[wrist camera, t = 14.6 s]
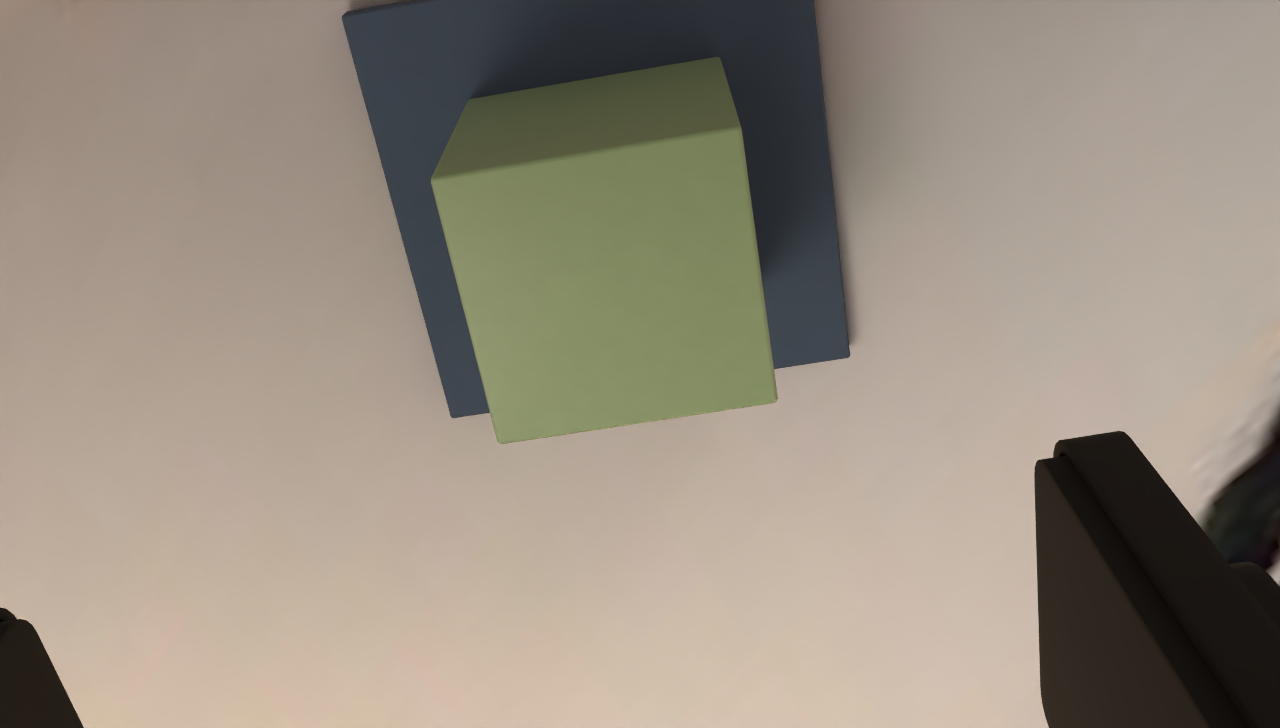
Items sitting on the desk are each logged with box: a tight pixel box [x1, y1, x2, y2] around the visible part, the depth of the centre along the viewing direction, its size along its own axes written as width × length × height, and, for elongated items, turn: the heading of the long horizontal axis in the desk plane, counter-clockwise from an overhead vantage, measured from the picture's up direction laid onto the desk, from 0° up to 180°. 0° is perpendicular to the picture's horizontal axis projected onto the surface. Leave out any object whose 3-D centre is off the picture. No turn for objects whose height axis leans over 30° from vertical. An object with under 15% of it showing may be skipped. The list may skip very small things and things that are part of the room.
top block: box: [431, 57, 778, 444], centre depth 20 cm, size 4×4×4 cm
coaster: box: [342, 0, 850, 418], centre depth 22 cm, size 8×8×1 cm
